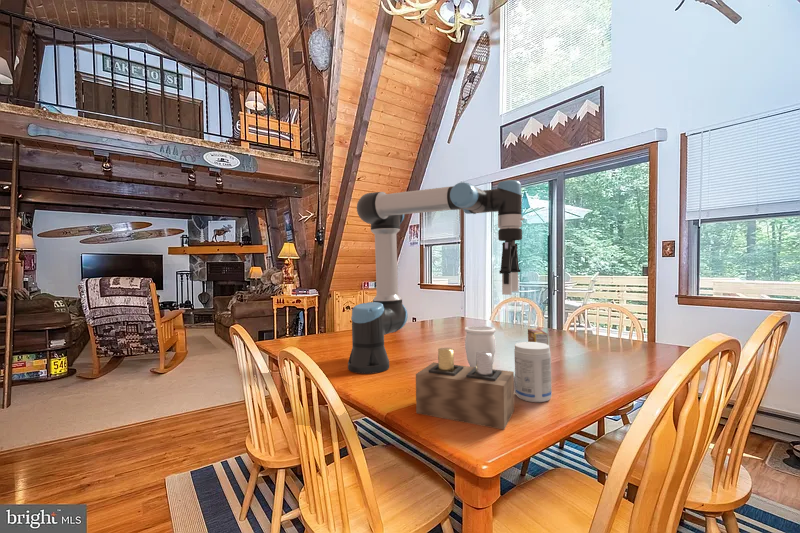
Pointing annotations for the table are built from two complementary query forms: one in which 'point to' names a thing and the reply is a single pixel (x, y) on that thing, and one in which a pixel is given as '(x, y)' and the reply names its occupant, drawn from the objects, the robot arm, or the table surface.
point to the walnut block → (466, 395)
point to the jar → (479, 342)
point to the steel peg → (484, 363)
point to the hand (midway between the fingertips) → (510, 292)
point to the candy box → (537, 336)
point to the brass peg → (446, 359)
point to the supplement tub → (533, 371)
